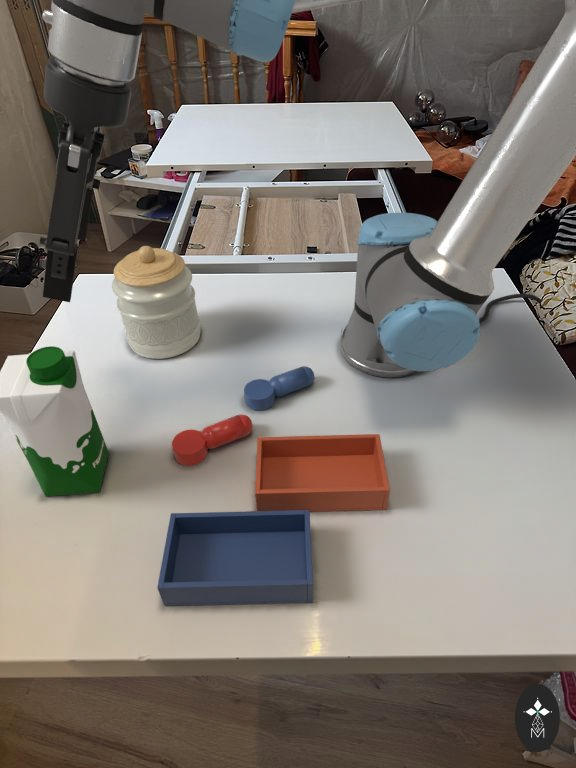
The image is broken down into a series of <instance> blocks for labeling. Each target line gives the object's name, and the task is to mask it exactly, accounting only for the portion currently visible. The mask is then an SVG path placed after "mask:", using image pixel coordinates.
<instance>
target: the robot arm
mask: <svg viewBox="0 0 576 768" xmlns="http://www.w3.org/2000/svg"><path fill="white" fill-rule="evenodd" d="M363 1H366V0H51V4H50V6H51V7H50V8H51V9H50V10H48V9H44V11H43V12H42V14H41V16H42V17H41V18H42V20H43V21H44V22H45V23H46V24H49V25H51V28H50V29H49V30H48V41H47V42H48V44H47V50H48V51H49V53H50V54H51V56H50V57H49V58H48V59H47V60H46V61H45V72H44V85H43V98H44V101H45V102H46V104H47V106H49V108H51V109H52V110H53V111H55V112H56V113H57V114H60V115H62V116H64V117H65V119H67V121H63V124H62V129H60V130H59V133H58V137H57V148H58V154H57V159H56V165H55V173H56V178H55V184H54V189H53V196H52V203H51V209H50V215H49V223H48V229H47V235H46V237H43V236H40V238H39V245H42V246H44V249H45V251H46V260H45V269H44V278H43V288H42V289H43V291H42V298H46V299H50V300H56V301H61V302H66V303H71V299H72V293H73V287H74V279H75V272H76V267H77V266H76V265H77V258H78V251H79V244H78V240H79V241H82V242H86V240H87V236H88V235H87V234H88V227H89V221H90V214H91V207H92V202H93V195H94V194H93V193H94V190H97V191H99V190H100V186H101V179H98V178H95V176H97V173H98V170H97V163H98V162H100V160H101V157H102V151H103V150H104V144H105V139H106V134H105V133H103V132H101V130H102V128H105V129H117V128H120V127H123V126H124V125H125V124H126V122H127V119H128V113H129V108H130V102H131V98H132V97H131V96H132V91H133V90H132V87H131V85H130V82H131V81H132V80H134V79H135V78H136V71H137V65H138V60H139V59H138V58H139V54H140V49H141V42H142V36H143V27H144V23H143V22H144V19H145V15H147V16H151V17H153V18H154V19H156V20H159V21H160V22H164V23H168V24H170V25H172V26H173V27H177V28H179V29H181V30H183V31H186V32H188V33H190V34H193V35H195V36H197V37H199V38H202V39H204V40H205V41H208V42H210V43H213V44H215V45H218V46H219V47H222V48H224V49H226V50H229V51H231V52H232V53H233V55H235V56H237V57H238V56H239V57H240V56H241V57H242V56H244V57H247V58H250V59H252V60H255V61H258V62H261V63H270V62H272V61H273V60H274V59H275V58H276V57H277V55H278V53H279V51H280V48H281V46H282V44H283V42H284V38H285V36H286V33H287V30H288V27H289V24H290V20H291V17H292V14H295V13H300V12H301V13H302V12H306V11H312V10H318V9H325V8H330V7H336V6H342V5H347V4H352V3H358V2H363ZM564 8H565V9H564V14H563V17H562V18H561V20H560V21H559V23H558V25H557V26H556V28H555V30H554V31H553V33H552V34H551V36H550V38H549V40H548V41H547V43H546V44H545V46H544V47H543V49H542V51H541V53H540V54H539V55H538V57H537V59H536V61H535V62H534V64H533V66H532V68H530V71H529V72H528V74H527V76H526V77H525V78H524V80H523V82H522V83H521V85H520V87H519V89H518V90H517V92H515V93H516V94H515V95H514V96H513V98H512V100H511V102H510V103H509V105H508V106H507V107H506V110H504V113H503V114H502V116H501V118H500V120H499V121H498V123H497V124H496V126H495V127H494V129H493V130H492V133H491V134H490V136H489V137H488V139H487V141H486V142H485V144H484V146H483V147H482V149H481V150H480V152H479V154H478V155H477V157H476V159H475V160H474V161H473V163H472V165H471V167H470V168H469V170H468V172H467V173H466V174H465V176H464V179H463V180H462V182H461V183H460V185H459V187H458V188H457V190H456V192H455V193H454V195H453V196H452V198H451V200H450V201H449V203H448V204H447V206H446V208H445V209H444V211H443V213H442V214H441V216H440V218H439V219H438V220H436V219H435V218H433V217H430V216H427V215H424V214H419V213H412V212H386V213H380V214H377V215H374V216H372V217H369V218H367V219H365V220H364V221H363V222H362V223H361V225H360V227H359V231H358V232H359V233H358V239H357V240H356V244H357V256H356V270H355V271H356V272H355V289H354V290H355V291H354V303H353V304H354V305H353V309H352V311H351V315H350V316H349V320H348V322H347V324H346V325H345V327H344V329H343V330H341V333H340V335H341V337H340V350H341V351H340V352H341V354H342V356H343V359H344V360H345V361H346V362H347V363H348V364H349V365H350V366H352V367H353V368H354V369H356V370H358V371H360V372H362V373H364V374H367V375H371V376H374V377H379V378H401V377H407V376H411V375H413V374H416V373H418V372H432V371H436V370H438V369H442V368H443V369H445V368H448V367H450V366H453V365H455V364H457V363H459V362H460V361H462V360H464V358H466V357H467V356H468V355H469V354H470V353H471V352H472V351H473V350H474V348H475V347H476V346H477V344H478V341H479V339H480V335H481V324H482V323H483V322H484V321H485V320H487V318H488V317H489V314H490V310H491V308H492V306H493V305H495V304H498V303H501V302H504V301H508V300H513V299H530V300H533V301H535V302H536V303H542V302H543V301H542V298H540V297H538V296H536V295H534V294H530V293H512V294H508V295H505V296H501V297H497V298H495V299H492V300H490V301H489V302H488V303H487V304H486V305H485V309H484V313H483V315H482V316H481V317H480V318H479V317H478V316H477V315H478V312H479V311H480V309H481V308H482V307H483V305H484V304H485V303H486V302H487V300H489V297H490V296H491V295H492V294H493V292H494V291H495V283H494V278H493V271H494V269H495V268H496V267H497V265H498V264H499V262H500V261H501V259H502V258H503V257H504V255H505V254H506V253H507V251H508V250H509V248H510V247H511V246H512V244H513V243H514V241H516V239H517V237H518V236H519V235H520V233H521V232H522V231H523V229H524V228H525V226H526V225H527V224H528V222H529V221H530V220H531V218H532V217H533V215H534V214H535V213H536V212H537V210H538V208H540V206H541V204H542V203H543V202H544V200H545V199H546V197H547V196H548V195H549V193H550V192H551V190H552V189H553V188H554V187H555V185H556V184H557V182H558V181H559V179H560V178H561V177H562V176H563V174H564V173H565V172H566V170H567V168H569V166H570V164H571V163H572V161H573V160H575V158H576V0H564ZM89 188H90V189H89ZM93 189H94V190H93Z"/></svg>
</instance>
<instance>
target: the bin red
mask: <svg viewBox="0 0 576 768" xmlns="http://www.w3.org/2000/svg"><path fill="white" fill-rule="evenodd" d="M381 441H382V440H381V436H380V434H379V433H367V434H364V433H363V434H330V435H329V434H327V435H326V434H325V435H292V436H291V435H290V436H287V435H285V436H257V442H256V462H255V463H256V464H255V487H254V496H255V505H256V511H286V510H309V511H310V512H312V513H313V512H347V511H349V512H351V511H387V510H388V505H389V497H390V491H391V488H390V484H389V478H388V473H387V468H386V462H385V457H384V452H383V446H382V442H381Z"/></svg>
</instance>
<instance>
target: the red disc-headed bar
mask: <svg viewBox="0 0 576 768" xmlns="http://www.w3.org/2000/svg"><path fill="white" fill-rule="evenodd" d="M252 431H253V421H252V419H251V418H250V417H249V416H248V415H246V414H242V413H241V414H236V415H234V416H231V417H228V418H226V419H223V420H220V421H218V422H215V423H213V424H210V425H207V426H205V427H204V428H202V429H201V430H197V429H185V430H182V431H180V432H178V433H177V434H176V435H174V437H173V439H172V441H171V448H172V452H173V457H174V458H175V461H176V462H177V463H178V464H180V465H182V466H186V467H190V466H195V465H198V464H201V463H202V462H203V461H204V460H205V459H206V458H207V456H208V452H209V450H208V449H210V450H213V449H216V448H218V447H221V446H224V445H226V444H229V443H231V442H234V441H236V440H239V439H242V438H244V437H246V436H248V435H250V434H251V432H252Z"/></svg>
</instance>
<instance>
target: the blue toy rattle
mask: <svg viewBox="0 0 576 768" xmlns="http://www.w3.org/2000/svg"><path fill="white" fill-rule="evenodd" d="M314 381H315V372H314V370H313V369H312V368H310V367H309V366H299V367H297V368H294V369H291V370H288V371H286V372H282V373H280V374H277V375H274V376H272V377H270V379H269V380H267V379H263V378H262V379H261V378H257V379H253V380H251V381H249V382H248V383H246V384H245V385H244V387H243V396H244V403H245V405H246V407H247V408H248V409H250V410H252V411H258V412H263V411H266V410H268V409H271V408H272V407H273V406H274V404H275V403H276V402H275V401H276V397H283V396H285V395H288V394H290V393H293V392H296V391H299V390H302V389H304V388H307V387H310V386H311V385H312V384H313V383H314Z"/></svg>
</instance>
